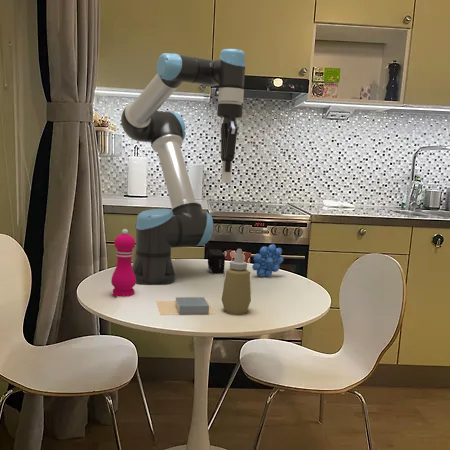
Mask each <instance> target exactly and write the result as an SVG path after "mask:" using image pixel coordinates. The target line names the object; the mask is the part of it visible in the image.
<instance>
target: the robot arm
mask: <svg viewBox="0 0 450 450" xmlns="http://www.w3.org/2000/svg"><path fill="white" fill-rule="evenodd" d="M246 66H247V64H246V53H245V52H244V50H242V49H239V48H224V49H222V50H221V51H220V55H219V59H208V58H207V59H206V58H202V57H201V58H200V57H195V56H188V55H183V54H178V53H168V52H164V53H161V54H160V56H159V57H158V61H157V63H156V72H157V73H156V74H155V76H154V77H153V78H152V79H151V81H150V82H149V83H148V84H147V85H146V87H145V88H144V89H143V90H142V92H141V93H140V94H139V96H137V98H136V99H135V100H134V102H130V103H129V104H127V105H126V106H125V107H124V109H123V111H122V114H121V118H120V123H121V128H122V129H123V131H124V133H125V134H126V135H127V136H128V137H129V138H130V139H132V140H134V141H136V142H142V143H150V145H151V148H152V150H153V151H154V152H156V153H157V156H158V161H159V162H160V163H159V164H160V167H161V171H162V174H163V179H164V182H165V186H166V190H167V194H168V198H169V201H170V205H171V209H169V208H152V209H147V210H143V211H140V213H138V214H137V217H136V225H135V229H136V230H135V231H136V232H135V233H136V234H135V255H134V256H135V257H134V259H133V262H132V264H131V265H132V269H133V271H134V274H135V277H136V284H140V285H146V286H147V285H148V286H160V285H161V286H162V285H167V284H168V285H169V284H171V283H174V282H175V280H176V270H175V267H174V265H173V260H172V248H185V247H187V248H188V247H194V248H195V247H198V246H204V245H206V244H208V242H209V241H210V240H211V238H212V236H213V232H214V220H213V217H212V215H211V214H210V212H207V211H203V207H202V204H201V203H200V202H197V201H196V198H195V195H194V191H193V188H192V184H191V180H190V176H189V173H188V169H187V166H186V163H185V160H184V156H183V152H182V149H181V146H182V145H183V142H184V140H185V138H186V124H185V120H184V119H183V117H182V116H181V115H180V114H179V113H177V112H172V111H168V110H166V111H162V110H161V111H160V110H159V109H160V108H161V107H162V106H163V105H164V104H165V102H166V101H167V100H168V99H169V98H170V97H172V95H173V94H174V93H175V92H176V90H177V89H178V88H179V87H180V86H181V85H182V83H190V84H198V85H202V86H204V87H211V88H213V87H217V86H218V91H216V95H218V97H217V101H218V102H219V103H218V104H217V110H216V111H217V112H216V116H217V117H220V118H223V123H221V127H220V129H219V130H220V159H221V177H220V178H221V179H220V180H221V181H220V183H222V184H231V183H232V171H233V170H232V168H233V161H234V160H235V153H236V144H237V135H238V130H239V128H238V124H237V122H236V119H240V118H242V117H243V110H244V109H243V108H244V107H243V105H242V104H243V103H244V95H245V93H244V91H245V89H244V87H245V79H246V78H245V76H246Z"/></svg>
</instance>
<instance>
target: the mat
mask: <svg viewBox="0 0 450 450" xmlns="http://www.w3.org/2000/svg"><path fill="white" fill-rule="evenodd" d="M155 302H156V306H157V309H158V312H159V315H160V316H180V315H181V316H182V315H183V316H186V315H187V316H188V315H189V316H190V315H195V314H179V312H178V310H177V307H176V305H175V303H176V300H165V301H164V300H157V301H155ZM206 302H207V303H208V305H209V313H207V314H206V315H216V311H215V310H214V308H213V307H212V305H211V303H210V301H209V300H206Z"/></svg>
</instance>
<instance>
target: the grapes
mask: <svg viewBox="0 0 450 450" xmlns="http://www.w3.org/2000/svg"><path fill="white" fill-rule="evenodd" d="M282 253H283V249H282V248H281V247H276V245H275V244H274V243H272V244H270V245H268V246H264V245H263V246H262V247H260V250H259V253H256V254H254V256H253V261H254V263H253V264H252V270H253V271H256V276H258V277H262V276H264V277H265V278H266V277H267V278H270V277H271V276H272V274H273V273H277V272H278V271H279V270H280V264H282V263H283V262H284V256H283V255H282Z"/></svg>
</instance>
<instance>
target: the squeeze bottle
mask: <svg viewBox="0 0 450 450" xmlns="http://www.w3.org/2000/svg"><path fill="white" fill-rule="evenodd" d="M242 250H243V249H241V248H237V249H236V253H235V256H234V259H233V260H231V261H230V262H229V268H228V269H226V271H225V276H224V283H223V289H222V294H221V302H222V306H223V311H224V312H225V313H228V314H230V315H245V314H247V311H248V308H249V306H250V304H251V301H252V295H251V292H252V291H251V290H252V289H251V272H250V271H249V270H248V269H247V268H248V262H246V261H244V256H243V251H242Z"/></svg>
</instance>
